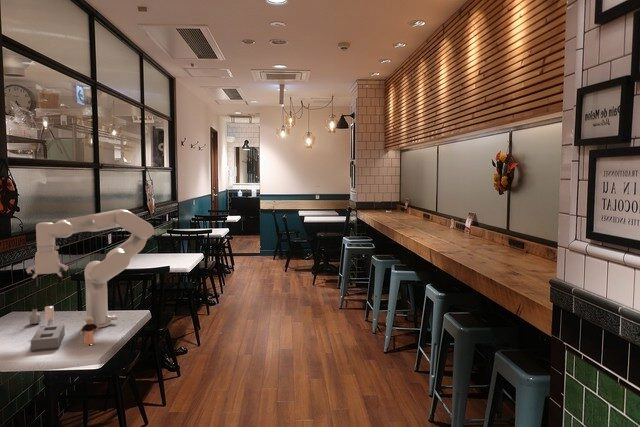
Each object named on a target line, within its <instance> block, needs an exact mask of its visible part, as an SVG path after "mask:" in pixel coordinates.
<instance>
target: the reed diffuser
mask: <svg viewBox="0 0 640 427" xmlns="http://www.w3.org/2000/svg"><path fill="white" fill-rule="evenodd" d="M32 284H33V283H30V286H31V288H34V289H31V291H32V292H31V293H32V295H33V296H32V300H31V299H30V296H29V294H28V292H27V290H26V288H25V287H23V289H24V291H25V293H26V295H27V298H28V300H29V302H30V304H31V305H32V312H31V313H30V314H29V315H28V316H29V317H28V318H29V324H31V325H32V324H33V325H34V324H39V323H41V321H42V316H41V314H40V312H38V308H37V305H36V304H37V303H36V302H37V301H35V299H36V288H37V287H35V285H34V284H33V285H32ZM32 301H33V303H32Z"/></svg>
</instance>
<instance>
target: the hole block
mask: <svg viewBox="0 0 640 427" xmlns="http://www.w3.org/2000/svg"><path fill="white" fill-rule="evenodd" d="M65 327H66V326H65V324H54V325H51V326H45V325H41V326H39V327H38V328H37V330H36V332H35V334H33V337H32V338H31V340H30V351H31V353H36V352H37V353H38V352H45V351H56V350H59V349H60V346H61V344H62V343H63V340H64V338H65V336H66V333H65V332H66V331H65Z"/></svg>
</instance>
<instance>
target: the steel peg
mask: <svg viewBox="0 0 640 427" xmlns="http://www.w3.org/2000/svg"><path fill="white" fill-rule="evenodd" d="M44 322H45V324H44V326H51V325H55V308H54V305H47V306H44Z"/></svg>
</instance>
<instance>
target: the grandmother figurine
mask: <svg viewBox="0 0 640 427" xmlns="http://www.w3.org/2000/svg"><path fill="white" fill-rule="evenodd" d="M92 321H93V317H91V316H88V317H87V316H86V317H85V318H84V323H85V322H86V323H87V324H86V325H85V326H82V328H81V330H80V333H79V335H81V336H82V335H83V334H84V340H83V347H84V346H86V347H89V346H88V345H89V344H94V345H95V342H94V330H95V331H96V332H98V331H99V329H100V328H97V326H96V325H95V324H91V323H92Z"/></svg>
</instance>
